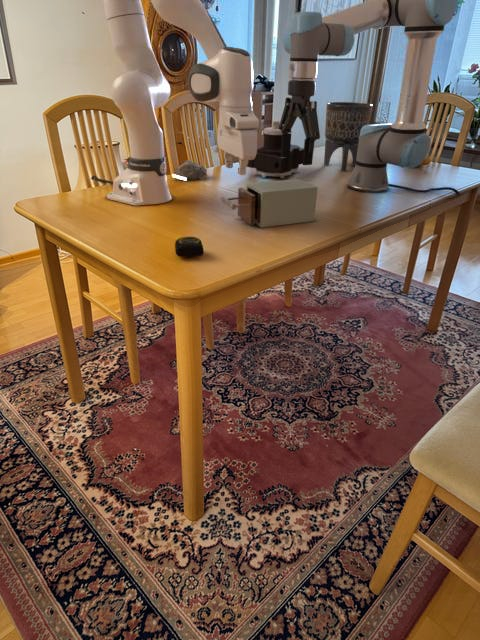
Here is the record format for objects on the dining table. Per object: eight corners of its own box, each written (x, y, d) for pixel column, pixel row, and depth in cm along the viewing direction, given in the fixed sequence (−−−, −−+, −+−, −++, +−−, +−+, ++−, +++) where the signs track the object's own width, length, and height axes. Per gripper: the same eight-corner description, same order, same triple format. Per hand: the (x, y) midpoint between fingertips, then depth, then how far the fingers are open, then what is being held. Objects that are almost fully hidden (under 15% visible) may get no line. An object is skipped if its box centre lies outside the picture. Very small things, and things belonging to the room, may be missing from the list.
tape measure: (175, 260, 111) (175, 246, 109) (175, 250, 116) (174, 236, 115) (203, 259, 112) (203, 245, 110) (201, 249, 117) (201, 235, 116)
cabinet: (260, 227, 134) (262, 192, 129) (245, 216, 142) (246, 183, 137) (314, 220, 140) (317, 187, 135) (296, 211, 149) (299, 178, 144)
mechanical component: (240, 120, 182) (283, 115, 202) (239, 174, 192) (280, 164, 212) (283, 126, 170) (325, 120, 190) (280, 183, 180) (320, 171, 200)
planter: (313, 167, 208) (319, 103, 195) (331, 160, 222) (338, 101, 209) (353, 173, 199) (362, 107, 185) (369, 166, 213) (379, 104, 199)
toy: (405, 159, 210) (400, 152, 223) (408, 173, 213) (402, 165, 226) (431, 151, 207) (424, 145, 219) (433, 165, 210) (426, 158, 222)
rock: (199, 173, 191) (199, 157, 188) (212, 178, 186) (211, 161, 182) (172, 178, 184) (171, 161, 180) (185, 183, 178) (184, 165, 175)
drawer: (231, 227, 131) (232, 197, 126) (219, 217, 138) (219, 189, 134) (301, 218, 139) (304, 190, 134) (286, 210, 146) (288, 183, 142)
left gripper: (211, 114, 128) (212, 164, 135) (239, 122, 112) (238, 179, 119) (232, 113, 131) (231, 163, 138) (262, 121, 114) (260, 177, 121)
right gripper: (270, 77, 133) (266, 153, 144) (313, 82, 113) (305, 169, 124) (292, 77, 136) (287, 152, 146) (339, 82, 116) (329, 168, 126)
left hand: (235, 171), depth 128 cm, fingers open, 8 cm apart
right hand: (295, 160), depth 135 cm, fingers open, 13 cm apart
